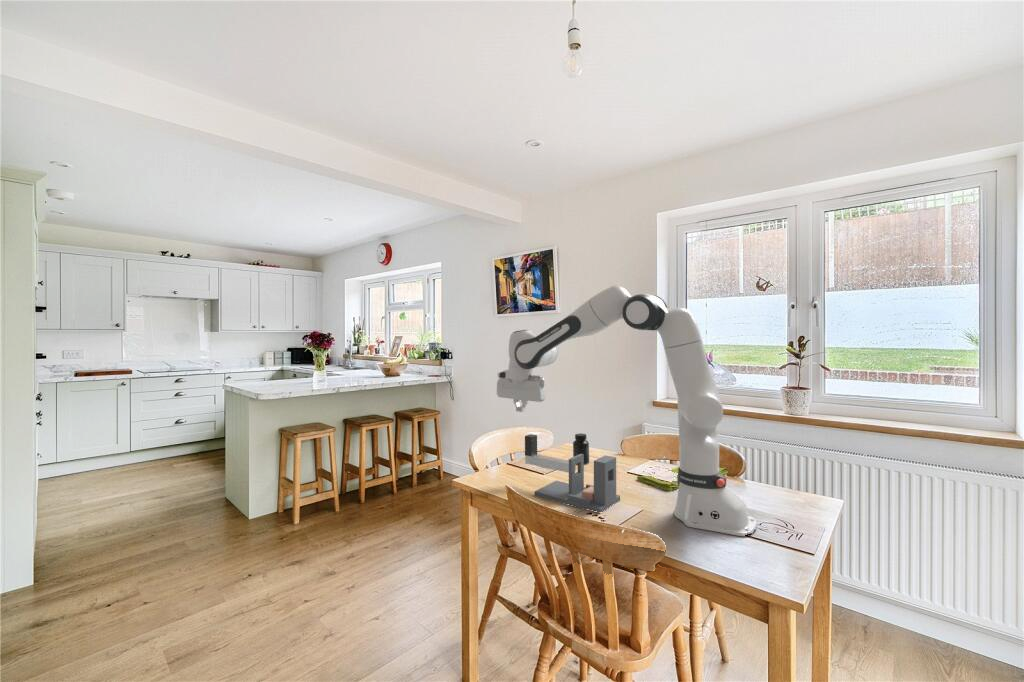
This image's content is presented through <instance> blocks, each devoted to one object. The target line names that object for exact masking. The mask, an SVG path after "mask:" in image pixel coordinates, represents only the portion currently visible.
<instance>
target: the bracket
mask: <svg viewBox="0 0 1024 682" xmlns="http://www.w3.org/2000/svg"><path fill="white" fill-rule="evenodd" d="M568 461H569V473H568V482H564V481H559V480H555V481H553V482H551V483H548V484H547V485H545V486H542V487H540V488H539V489H537V490H535V491H534V497H537V498H541V499H545V500H549V501H552V500H553V501H552V502H557V503H559V502H560V503H559V504H563V503H565V504H564V505H567V504H569V505H568V506H570V505H573V506H572V507H574V506H576V507H575V508H578V507H580V508H579V509H582V508H584V509H583V510H585V509H589V510H593V511H597V512H603V511H604V510H605V511H607V510H608V509H609V507H610V506H611V507H613V506H614V505H615V504H617V503H618V502H619V501H621V495H620V494H617V457H616V456H609V455H606V454H605V455H603V456H601V457H598V458H596V459H595V460H593V484H588V483H587V484H585V480H584V479H585V476H584V475H585V473H584V469H585V467H584V465H585V464H584V454H579V455H577V456H574V457H573V456H572V457H569V458H568ZM577 463H578V464H577ZM576 465H577V472H576ZM591 486H592V487H594V501H593V502H592V500H591V499H587V498H583V497H582V491H583V490H585V489H587V488H589V487H591ZM613 504H614V505H613ZM612 505H613V506H612ZM611 507H610V508H611ZM607 508H608V509H607ZM606 509H607V510H606ZM589 510H588V511H589ZM593 511H592V512H593ZM605 511H604V512H605ZM604 512H603V513H604Z"/></svg>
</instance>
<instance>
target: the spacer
mask: <svg viewBox="0 0 1024 682" xmlns="http://www.w3.org/2000/svg"><path fill="white" fill-rule="evenodd" d="M582 497H583V498H587V499H591V500H592V502H593V501H594V487H592V486H591V487H589V488H587V489H585V490H583V491H582Z"/></svg>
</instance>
